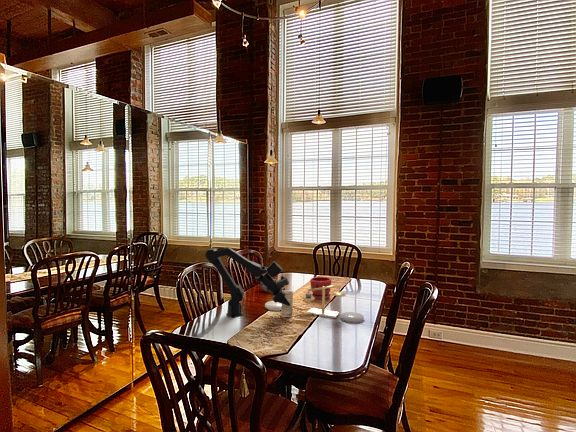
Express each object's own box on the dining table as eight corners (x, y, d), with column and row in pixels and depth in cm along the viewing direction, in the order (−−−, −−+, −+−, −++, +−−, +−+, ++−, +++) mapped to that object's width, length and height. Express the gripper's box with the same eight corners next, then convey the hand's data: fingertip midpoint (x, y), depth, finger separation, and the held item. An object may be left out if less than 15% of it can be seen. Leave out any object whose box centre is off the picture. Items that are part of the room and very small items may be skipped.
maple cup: (286, 318, 184) (287, 294, 183) (278, 315, 188) (278, 291, 188) (295, 315, 188) (296, 291, 188) (287, 312, 193) (287, 289, 192)
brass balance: (300, 312, 193) (300, 281, 192) (304, 308, 199) (305, 279, 198) (343, 319, 183) (344, 287, 182) (346, 315, 190) (347, 284, 188)
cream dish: (276, 312, 193) (276, 310, 193) (260, 306, 203) (260, 304, 202) (294, 307, 203) (294, 304, 202) (277, 301, 212) (277, 299, 212)
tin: (260, 290, 236) (260, 278, 236) (263, 289, 239) (263, 277, 239) (280, 293, 229) (280, 280, 229) (282, 292, 232) (282, 279, 232)
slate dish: (355, 324, 176) (355, 321, 176) (335, 318, 185) (335, 315, 185) (368, 318, 185) (368, 316, 185) (349, 313, 193) (349, 310, 193)
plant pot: (330, 294, 228) (330, 276, 227) (331, 300, 215) (331, 281, 214) (310, 293, 229) (310, 275, 229) (309, 299, 216) (310, 280, 216)
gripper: (279, 276, 178) (301, 298, 178) (280, 268, 196) (299, 288, 197) (264, 291, 178) (285, 313, 179) (266, 282, 197) (285, 301, 197)
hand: (289, 303), depth 188 cm, fingers closed on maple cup, 6 cm apart
